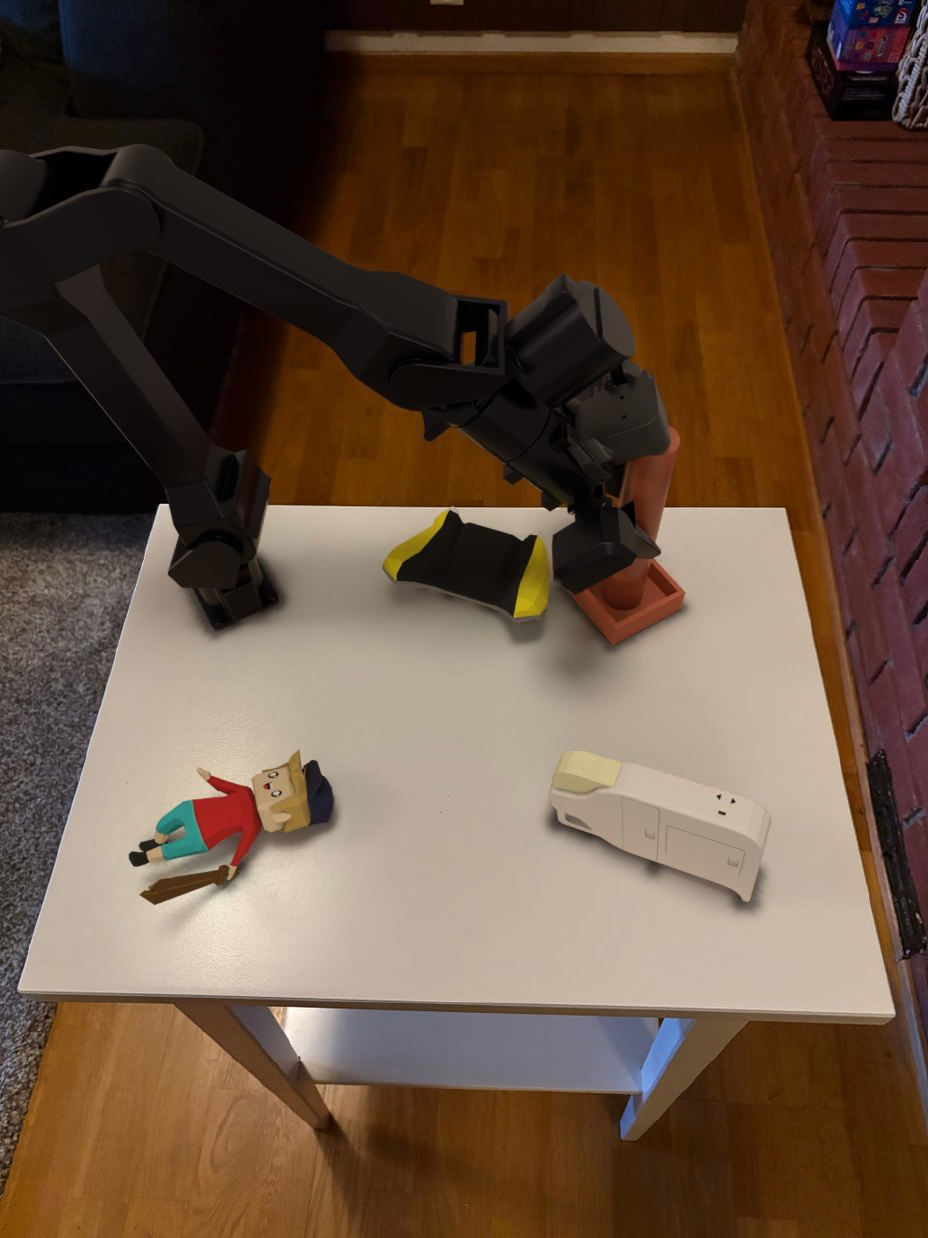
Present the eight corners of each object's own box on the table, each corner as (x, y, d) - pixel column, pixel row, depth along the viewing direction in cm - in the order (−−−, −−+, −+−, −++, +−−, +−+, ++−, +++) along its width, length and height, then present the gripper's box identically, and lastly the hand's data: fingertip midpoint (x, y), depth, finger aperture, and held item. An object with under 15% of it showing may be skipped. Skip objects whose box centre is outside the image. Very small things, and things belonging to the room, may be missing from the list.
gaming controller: (534, 652, 76) (571, 568, 81) (537, 616, 71) (575, 529, 76) (379, 602, 79) (423, 524, 84) (372, 564, 75) (420, 485, 80)
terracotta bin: (564, 586, 80) (566, 570, 78) (630, 553, 82) (634, 536, 80) (612, 645, 76) (615, 629, 74) (680, 608, 78) (685, 592, 76)
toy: (110, 786, 63) (312, 722, 66) (138, 826, 68) (324, 765, 71) (125, 903, 57) (345, 827, 60) (154, 938, 62) (356, 866, 65)
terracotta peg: (601, 609, 77) (630, 454, 62) (602, 577, 80) (629, 419, 64) (642, 611, 77) (681, 456, 62) (641, 579, 79) (678, 422, 64)
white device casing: (566, 805, 70) (757, 869, 64) (554, 836, 68) (748, 905, 63) (556, 734, 61) (776, 801, 56) (542, 768, 60) (766, 841, 54)
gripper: (620, 463, 52) (760, 577, 61) (602, 278, 63) (723, 398, 71) (489, 546, 59) (632, 638, 68) (493, 367, 70) (615, 466, 78)
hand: (653, 529), depth 71 cm, fingers open, 5 cm apart
